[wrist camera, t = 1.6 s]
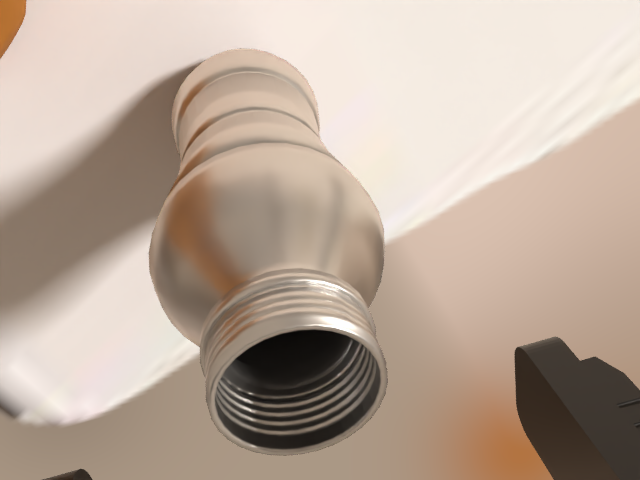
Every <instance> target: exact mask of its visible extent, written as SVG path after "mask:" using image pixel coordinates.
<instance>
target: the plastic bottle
mask: <svg viewBox="0 0 640 480" xmlns="http://www.w3.org/2000/svg"><path fill="white" fill-rule="evenodd" d="M171 118H172V131H173V135H174V140H175V144H176V148H177V151H178V153H179V155H180V159H181V165H180V169H179V174H178V177H177V179H176V181H175V183H174V185H173V187H172V189H171V191H170V193H169V195H168V197H167V198H166V200H165V202H164V204H163V206H162V209H161V211H160V213H159V215H158V218H157V221H156V224H155V227H154V230H153V233H152V238H151V243H150V248H149V270H150V275H151V279H152V282H153V285H154V288H155V291H156V294H157V296H158V299H159V301H160V303H161V306H162V308H163V310H164V311H165V313H166V315H167V316H168V318H169V320H170V321H171V323H172V324H173V325H174V326H175V327H176V328H177V329H178V331H179V332H180V333H181V334H182V335H183V336H184V337H186V338H187V339H188V340H190V341H191V342H193V343H194V344H196V345H197V346H199V347H200V363H201V367H202V370H203V374H204V376H205V378H206V402H207V405H208V409H209V412H210V415H211V419H212V421H213V422H214V424H215V425H216V427H217V429H218V430H219V431H220V432H221V433H222V434H223V435H224V436H225V437H226V438H227V439H228V440H230V441H231V442H233V443H235V444H236V445H238V446H240V447H242V448H245V449H248V450H250V451H253V452H257V453H262V454H267V455H283V456H286V455H298V454H304V453H309V452H313V451H318V450H321V449H323V448H326V447H329V446H332V445H334V444H336V443H338V442H340V441H342V440H344V439H346V438H348V437H349V436H351V435H352V434H353V433H355V432H356V431H357V430H359V429H360V428H362V427H363V426H364V425H365V424H366V423H367V422H368V421H369V420H370V419H371V418H372V416H373V415H374V414H375V412H376V411H377V409H378V408H379V407H380V405H381V402H382V400H383V398H384V396H385V393H386V388H387V383H388V378H387V368H386V361H385V358H384V355H383V353H382V350H381V348H380V345H379V344H378V341H377V339H376V329H375V324H374V321H373V319H372V316H371V313H370V311H369V309H368V308H369V307H370V305H371V303H372V301H373V300H374V298H375V295H376V292H377V290H378V288H379V285H380V283H381V278H382V272H383V266H384V248H385V246H384V228H383V225H382V222H381V219H380V215H379V212H378V209H377V208H376V206H375V204H374V203H373V201H372V199H371V198H370V196H369V194H368V193H367V191H366V190H365V189H364V188H363V186H362V185H361V183H360V182H359V181H358V180H357V179H356V178H355V177H354V176H353V175H352V174H351V172H350V171H349V170H348V169H347V168H346V167H344V166H343V165H342V164H341V163H340V162H339V161H338V160H337V159H336V158H335V157H334V156H333V155H332V154H331V153H330V152H329V151H328V150H327V149H326V147H325V146H324V144H323V142H322V141H321V139H320V135H319V131H320V123H319V114H318V105H317V101H316V98H315V95H314V92H313V90H312V88H311V87H310V85H309V83H308V81H307V80H306V78H305V77H304V76H303V75H302V74H301V73H300V72H299V71H298V69H297V68H295V67H294V66H292V65H291V64H290V63H288V62H287V61H286V60H284V59H282V58H279V57H277V56H275V55H273V54H271V53H268V52H265V51H260V50H256V49H242V48H240V49H234V50H227V51H224V52H222V53H219V54H216V55H214V56H212V57H210V58H209V59H207V60H205V61H204V62H202V63H201V64H200V65H199V66H198V67H197V68H195V69H194V70H193V71H192V72H191V73H190V74H189V75H188V76H187V78H186V79H185V80H184V82H183V83H182V85H181V86H180V88H179V90H178V92H177V95H176V97H175V99H174V103H173V109H172V114H171Z"/></svg>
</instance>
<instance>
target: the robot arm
mask: <svg viewBox="0 0 640 480" xmlns="http://www.w3.org/2000/svg"><path fill="white" fill-rule="evenodd" d="M515 379H516V380H515V381H516V404H517V411H518V415H519V418H520V421H521V424H522V426H523V429H524V431H525V433H526V435H527V437H528V438H529V440H530V442H531V443H532V445H533V446H534V448H535V450H536V451H537V453H538V455H539V456H540V458H541V460H542V461H543V463H544V464H545V466H546V468H547V469H548V471H549V472H550V474H551V476H552V477H553V479H554V480H640V390H639V389H638V388H637V387H636V386H635V385H634V384H633V382H632V381H631V380H630V379H629V378H628V377H627V376H626V375H625V374H624V373H623V372H621V371H619V370H618V369H616V368H614V367H612V366H611V365H609V364H607V363H605V362H604V361H602V360H600V359H598V358H596V357H592V358H589V359H585V360H582V361H580V360H579V359H578V358H577V357H576V356H575V355H574V353H573V352H572V351H571V350H570V349H569V347H568V346H567V345H566V344H565V343H564V342H563V341H562V340H561V339H560V338H558V337H552V338H549V339H545V340H542V341H539V342H535V343H531V344H528V345H524V346H520V347H517V348H516V350H515ZM43 480H92V478H91V477H90V475H89V474H88V473H87V472H86V471H85V470H84V469H79V470H76V471H72V472H68V473H65V474H61V475H58V476H54V477H51V478H47V479H43Z"/></svg>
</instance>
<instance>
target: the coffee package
mask: <svg viewBox="0 0 640 480" xmlns="http://www.w3.org/2000/svg"><path fill="white" fill-rule="evenodd" d="M25 12H26V0H0V58H1V57H2V56H3V54H4V53H5V51H6V50H7V49H8V47H9V45H10V44H11V42H12V40H13V39H14V37H15V35H16V34H17V32H18V30H19V28H20V26H21V24H22V22H23V19H24V17H25Z"/></svg>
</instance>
